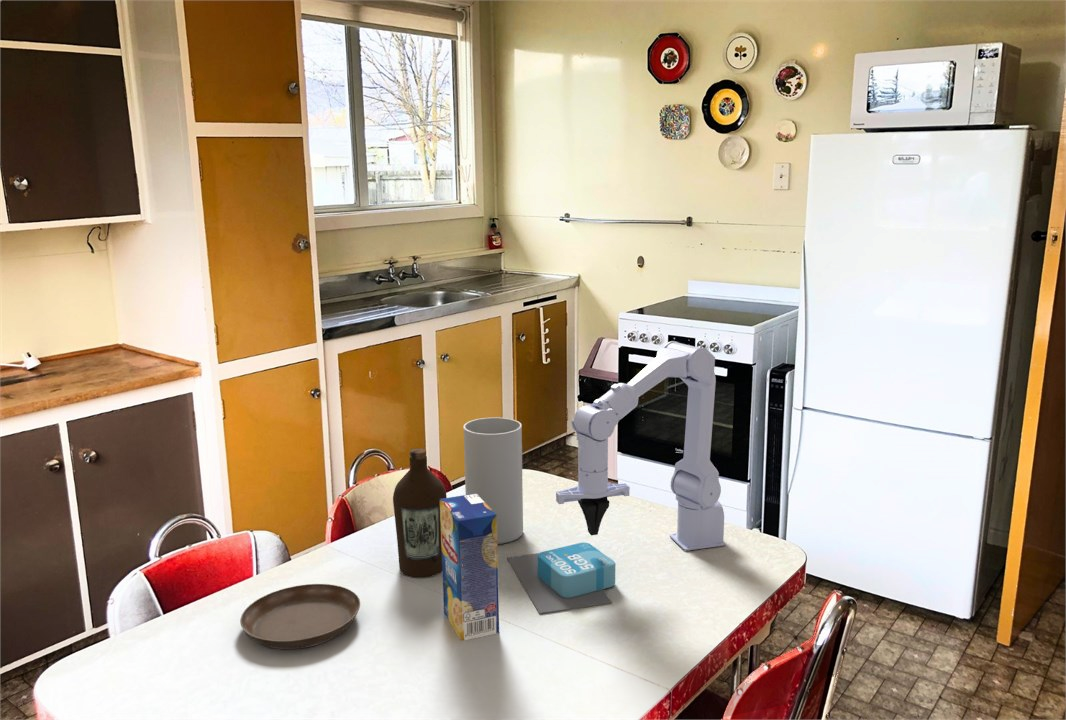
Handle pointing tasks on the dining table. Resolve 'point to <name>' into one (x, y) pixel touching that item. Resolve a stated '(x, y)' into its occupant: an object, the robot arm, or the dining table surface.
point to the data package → (576, 569)
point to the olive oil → (419, 518)
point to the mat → (544, 594)
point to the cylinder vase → (496, 471)
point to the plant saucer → (300, 615)
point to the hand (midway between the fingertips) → (592, 533)
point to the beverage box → (469, 565)
